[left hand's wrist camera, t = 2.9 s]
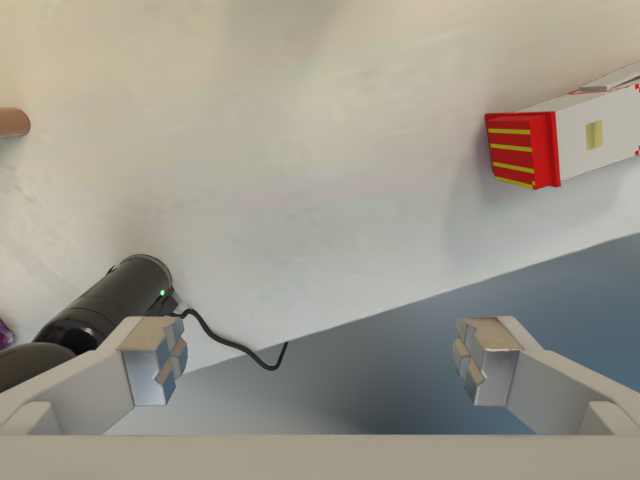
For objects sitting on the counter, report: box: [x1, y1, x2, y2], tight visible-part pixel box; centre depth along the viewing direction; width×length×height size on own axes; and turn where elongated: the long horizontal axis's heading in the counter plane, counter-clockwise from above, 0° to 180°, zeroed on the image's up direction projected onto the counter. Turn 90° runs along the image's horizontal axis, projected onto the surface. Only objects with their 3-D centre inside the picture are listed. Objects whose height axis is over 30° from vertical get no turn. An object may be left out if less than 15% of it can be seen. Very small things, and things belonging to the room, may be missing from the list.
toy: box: [485, 60, 640, 190], centre depth 49 cm, size 12×13×30 cm
